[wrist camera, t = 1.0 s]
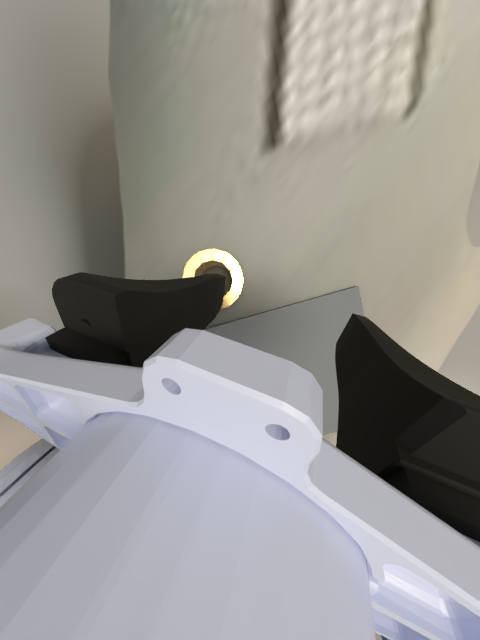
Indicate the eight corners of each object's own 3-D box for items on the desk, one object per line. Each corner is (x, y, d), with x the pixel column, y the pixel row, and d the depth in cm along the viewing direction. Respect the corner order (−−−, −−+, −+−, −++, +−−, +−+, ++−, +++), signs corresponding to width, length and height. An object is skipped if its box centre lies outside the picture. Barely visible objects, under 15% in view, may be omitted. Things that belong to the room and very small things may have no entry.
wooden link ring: (201, 311, 24) (193, 316, 19) (187, 265, 24) (174, 258, 19) (246, 298, 24) (249, 301, 19) (233, 251, 24) (233, 241, 19)
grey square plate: (223, 459, 28) (220, 506, 22) (181, 335, 25) (165, 350, 19) (380, 416, 27) (420, 451, 21) (355, 286, 25) (394, 285, 19)
